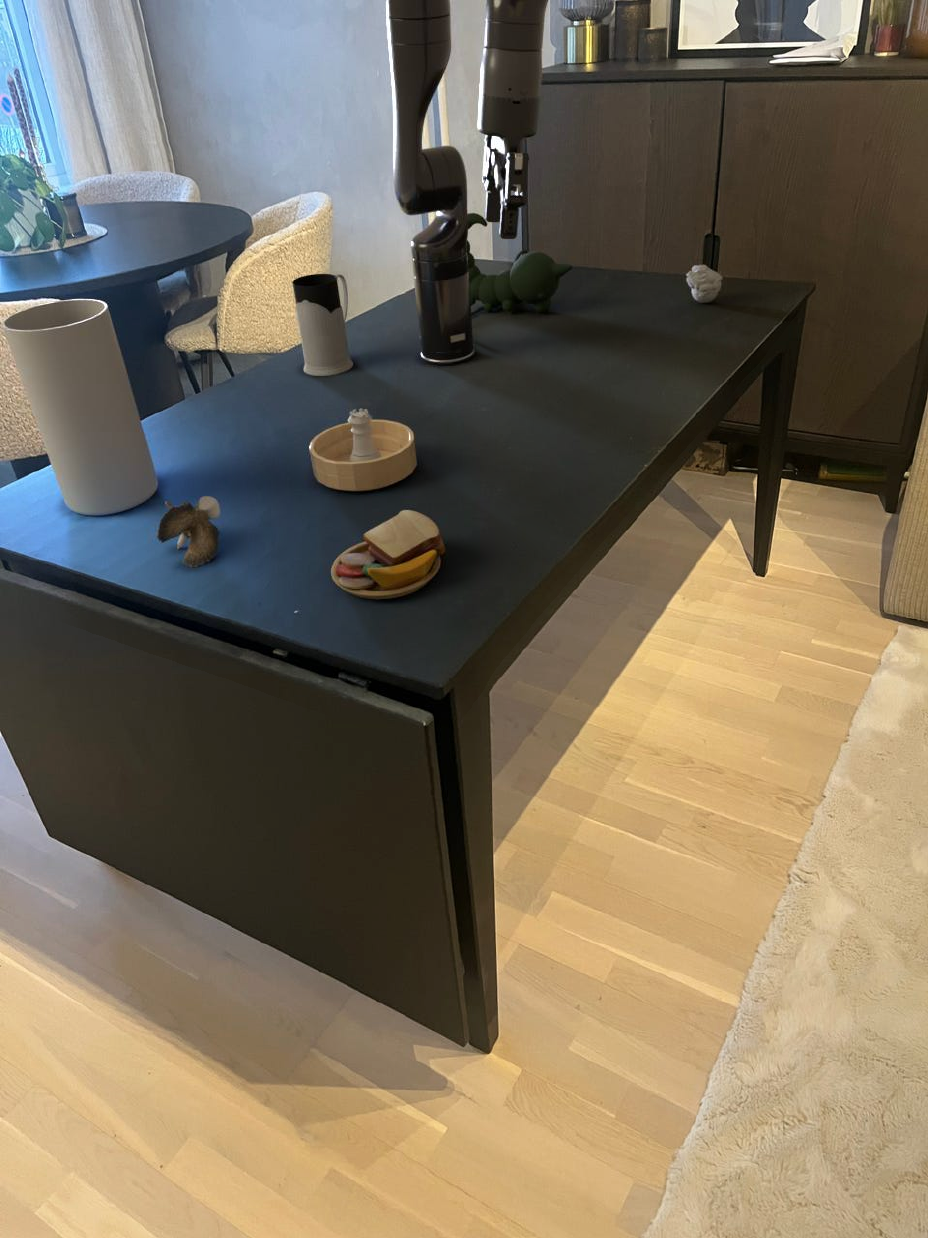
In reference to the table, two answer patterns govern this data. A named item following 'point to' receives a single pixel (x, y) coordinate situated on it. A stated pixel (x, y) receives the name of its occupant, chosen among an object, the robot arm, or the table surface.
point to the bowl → (342, 474)
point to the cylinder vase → (83, 404)
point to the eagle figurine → (192, 529)
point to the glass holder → (322, 323)
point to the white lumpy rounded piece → (704, 283)
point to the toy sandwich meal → (391, 558)
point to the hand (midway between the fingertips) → (500, 229)
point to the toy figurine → (515, 280)
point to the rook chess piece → (362, 437)
